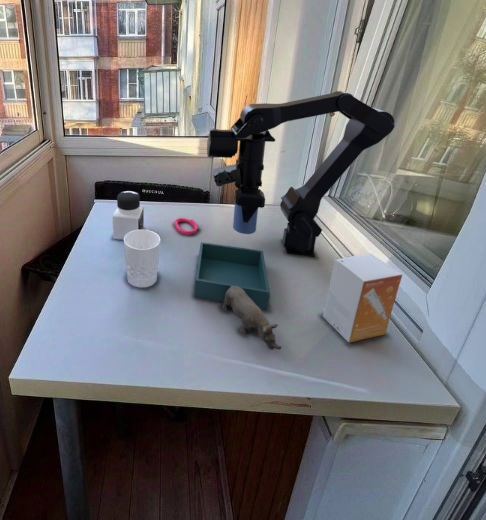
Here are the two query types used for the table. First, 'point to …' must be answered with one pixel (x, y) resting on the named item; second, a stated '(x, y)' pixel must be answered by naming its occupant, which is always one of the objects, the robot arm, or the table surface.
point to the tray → (231, 273)
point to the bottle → (242, 226)
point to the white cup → (142, 257)
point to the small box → (361, 296)
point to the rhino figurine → (250, 315)
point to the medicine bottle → (127, 214)
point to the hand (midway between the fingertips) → (244, 216)
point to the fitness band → (188, 222)
